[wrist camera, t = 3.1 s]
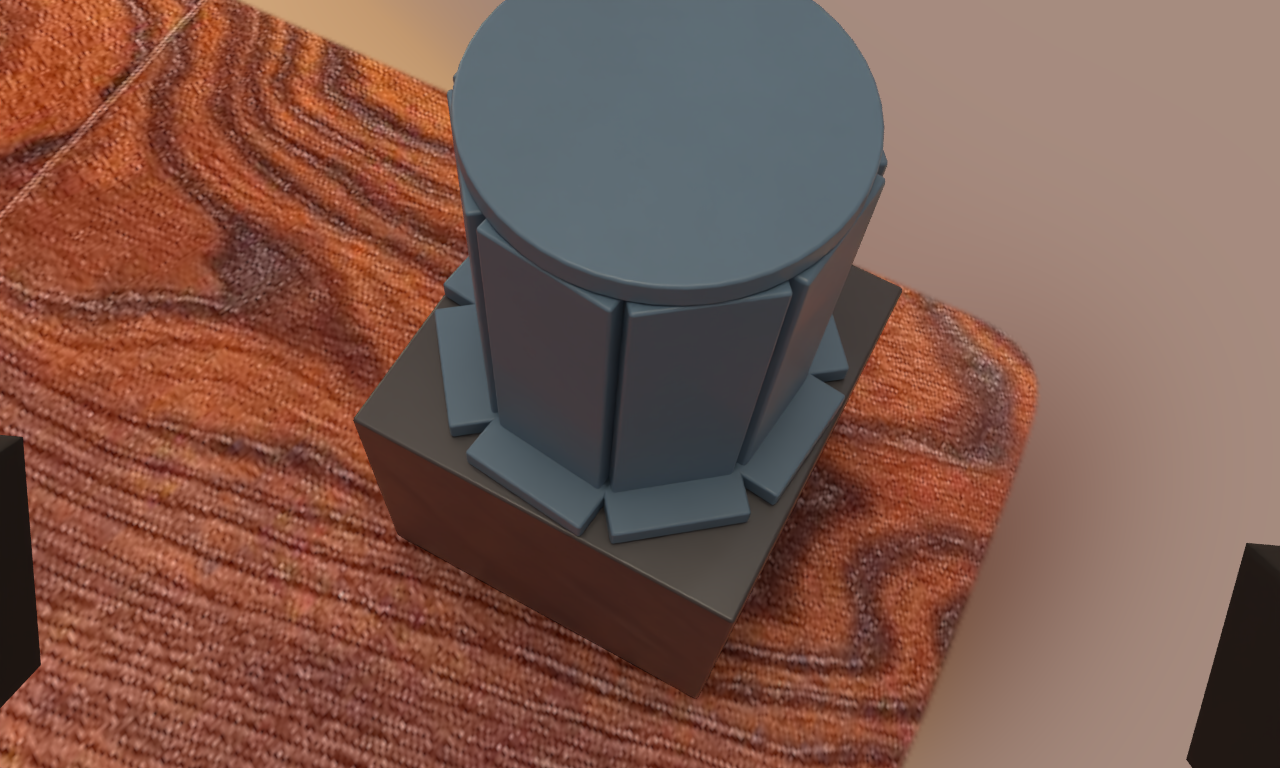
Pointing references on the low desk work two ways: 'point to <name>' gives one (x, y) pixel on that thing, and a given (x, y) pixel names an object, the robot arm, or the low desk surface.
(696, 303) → the hat
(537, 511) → the riser
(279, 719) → the low desk surface
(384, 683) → the low desk surface
